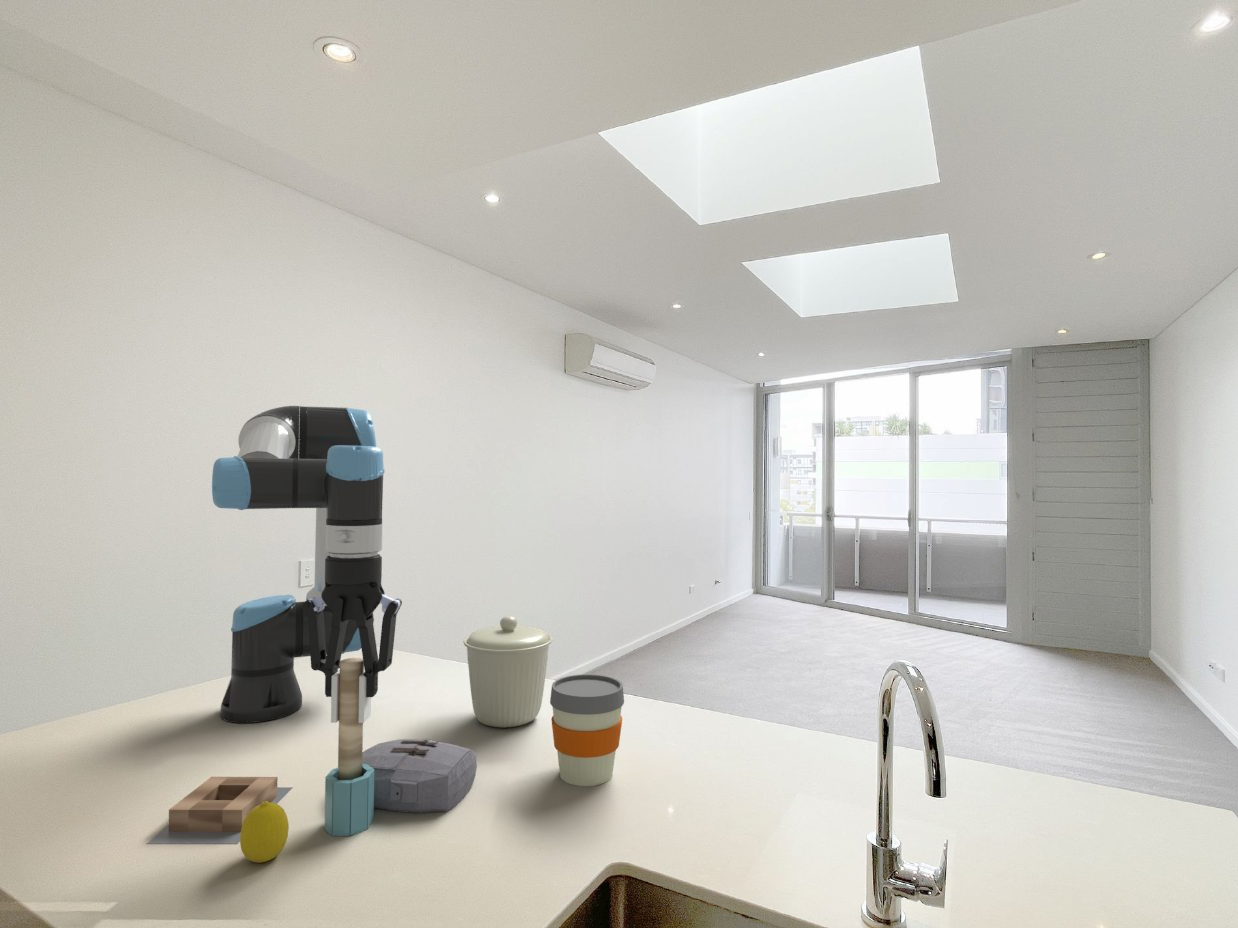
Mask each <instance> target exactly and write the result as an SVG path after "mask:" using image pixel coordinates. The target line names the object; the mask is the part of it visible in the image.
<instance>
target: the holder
mask: <svg viewBox="0 0 1238 928" xmlns="http://www.w3.org/2000/svg"><path fill="white" fill-rule="evenodd" d="M277 787H278V776H211V777H209V778H208V779H207V780H206V781H204V782H203V783H202V784H200V785H199V786H197V787H196V788H195V789H194V790H192V791H191V792H189V793H188V795H186V796H185V797H183V798H182V799H181V800H179V801H178V802H177V803H176V804H175V805H173V806H171V808H169V809H168V826H169V830H168V832H241V828H242V825H243V822H244V820H245V818H246V816H247V815H248V813H249V812H250V811H251V810H252V809H253V808H255V807H256V806H258V805H260V804H262V802H264V801H268V802H270V803H271V802H272V801H273V800H274V799H275V798H276V797H277Z"/></svg>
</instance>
